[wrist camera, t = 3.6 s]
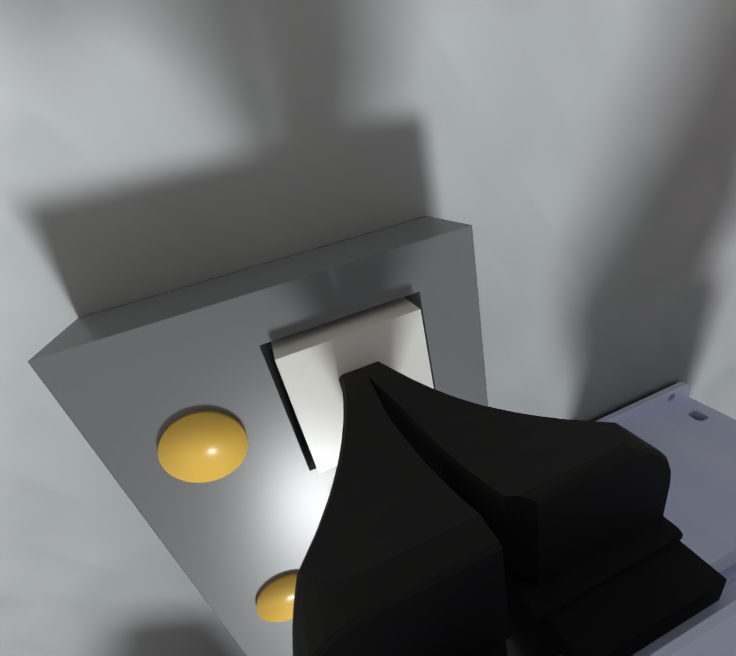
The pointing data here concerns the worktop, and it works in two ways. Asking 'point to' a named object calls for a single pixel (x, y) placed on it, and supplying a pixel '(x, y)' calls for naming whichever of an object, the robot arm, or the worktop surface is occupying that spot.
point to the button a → (347, 366)
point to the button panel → (250, 404)
